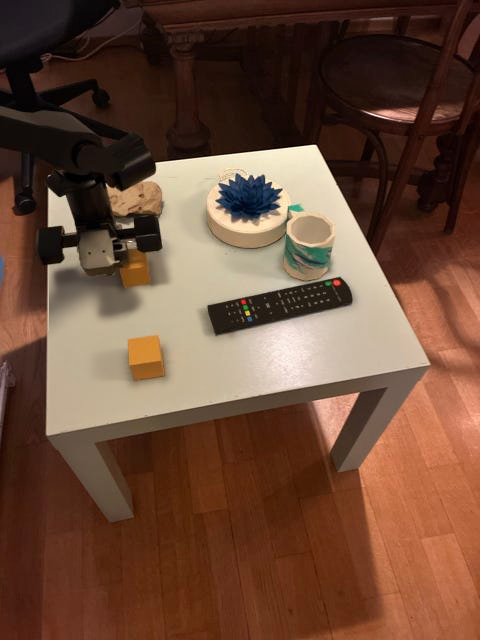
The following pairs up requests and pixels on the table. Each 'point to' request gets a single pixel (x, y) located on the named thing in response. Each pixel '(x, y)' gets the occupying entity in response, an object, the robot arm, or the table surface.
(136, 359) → the ochre block near
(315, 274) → the mug
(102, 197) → the robot arm
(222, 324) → the remote control
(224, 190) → the box with blue lotus
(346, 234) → the table surface
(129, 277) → the ochre block middle
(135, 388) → the table surface
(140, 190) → the stone
